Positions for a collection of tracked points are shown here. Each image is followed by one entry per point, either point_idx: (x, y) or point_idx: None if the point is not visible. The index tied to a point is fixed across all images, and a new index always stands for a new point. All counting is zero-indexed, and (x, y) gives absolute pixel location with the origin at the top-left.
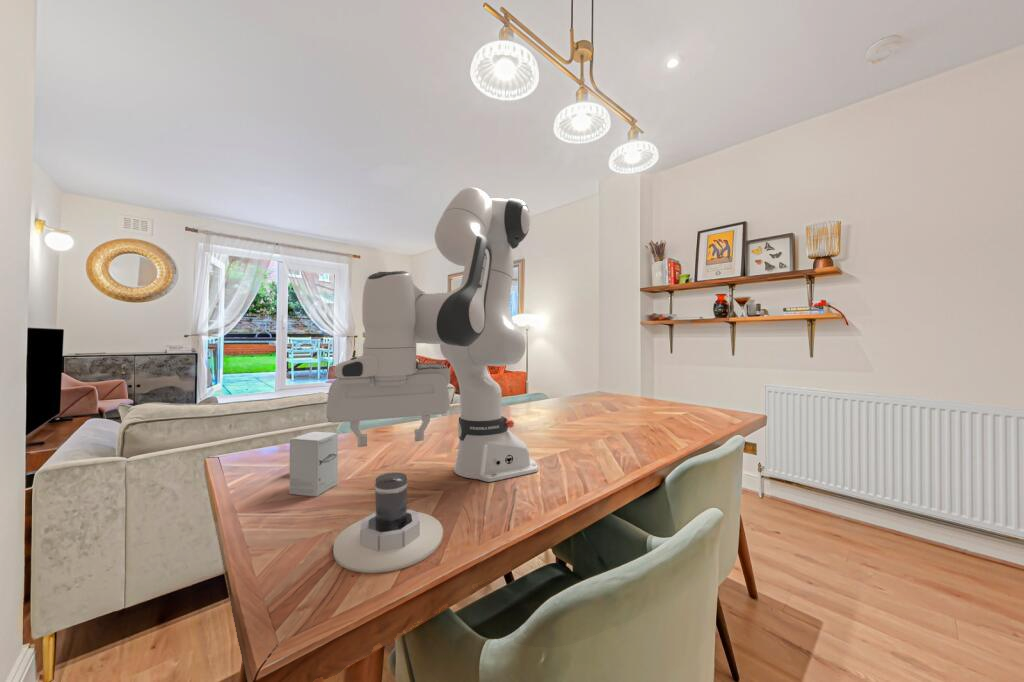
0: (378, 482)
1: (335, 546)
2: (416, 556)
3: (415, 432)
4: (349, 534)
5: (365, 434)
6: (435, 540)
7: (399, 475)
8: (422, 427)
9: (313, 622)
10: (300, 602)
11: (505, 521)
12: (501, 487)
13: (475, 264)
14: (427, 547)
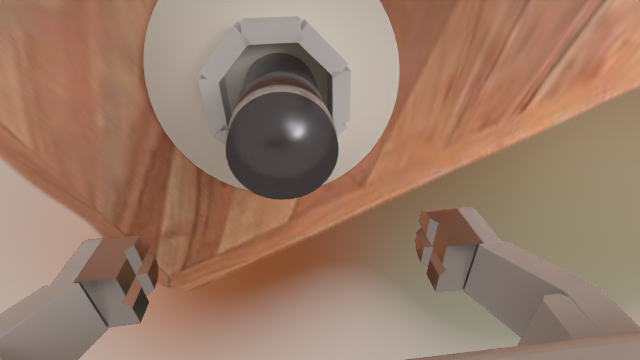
0: (242, 183)
1: (158, 110)
2: (329, 180)
3: (434, 288)
4: (172, 59)
5: (111, 290)
6: (371, 138)
7: (312, 137)
8: (489, 310)
9: (197, 257)
10: (161, 225)
11: (541, 70)
12: None
13: None
14: (352, 157)
